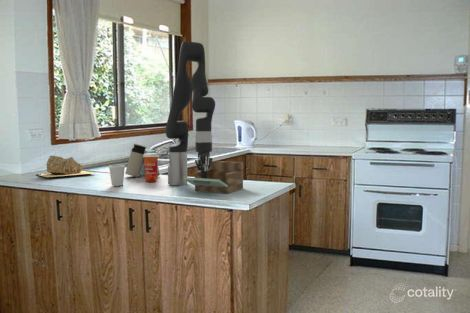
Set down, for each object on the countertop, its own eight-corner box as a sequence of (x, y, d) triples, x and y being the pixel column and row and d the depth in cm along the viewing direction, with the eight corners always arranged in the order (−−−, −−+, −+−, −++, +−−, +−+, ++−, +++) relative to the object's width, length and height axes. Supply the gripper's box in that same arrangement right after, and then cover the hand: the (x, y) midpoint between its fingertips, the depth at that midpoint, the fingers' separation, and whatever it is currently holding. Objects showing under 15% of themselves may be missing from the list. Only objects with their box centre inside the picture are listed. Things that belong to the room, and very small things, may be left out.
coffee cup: (140, 181, 270) (140, 154, 269) (147, 179, 278) (147, 152, 276) (154, 182, 268) (154, 154, 266) (161, 180, 275) (161, 153, 274)
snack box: (160, 175, 288) (155, 150, 285) (152, 178, 285) (147, 152, 282) (144, 171, 305) (139, 147, 302) (135, 173, 302) (130, 149, 299)
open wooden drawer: (194, 190, 240) (194, 163, 239) (210, 186, 254) (210, 160, 253) (228, 193, 232) (228, 165, 231) (242, 188, 247) (243, 162, 245)
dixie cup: (105, 185, 258) (105, 165, 257) (116, 183, 265) (116, 164, 264) (118, 186, 254) (117, 166, 253) (129, 184, 261) (128, 165, 260)
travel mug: (140, 177, 284) (148, 147, 285) (126, 174, 281) (135, 143, 282) (137, 176, 291) (145, 147, 293) (123, 173, 288) (132, 143, 290)
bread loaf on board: (46, 176, 280) (41, 151, 286) (38, 192, 296) (33, 168, 301) (95, 172, 296) (89, 148, 302) (85, 188, 312) (80, 164, 318)
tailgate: (193, 187, 239) (183, 181, 229) (194, 183, 239) (183, 177, 230) (227, 189, 231) (218, 183, 222) (228, 185, 231) (218, 179, 222)
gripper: (203, 140, 235) (203, 177, 236) (189, 141, 223) (189, 180, 224) (217, 140, 231) (218, 178, 233) (204, 142, 220) (204, 181, 221)
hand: (204, 179), depth 228 cm, fingers closed
